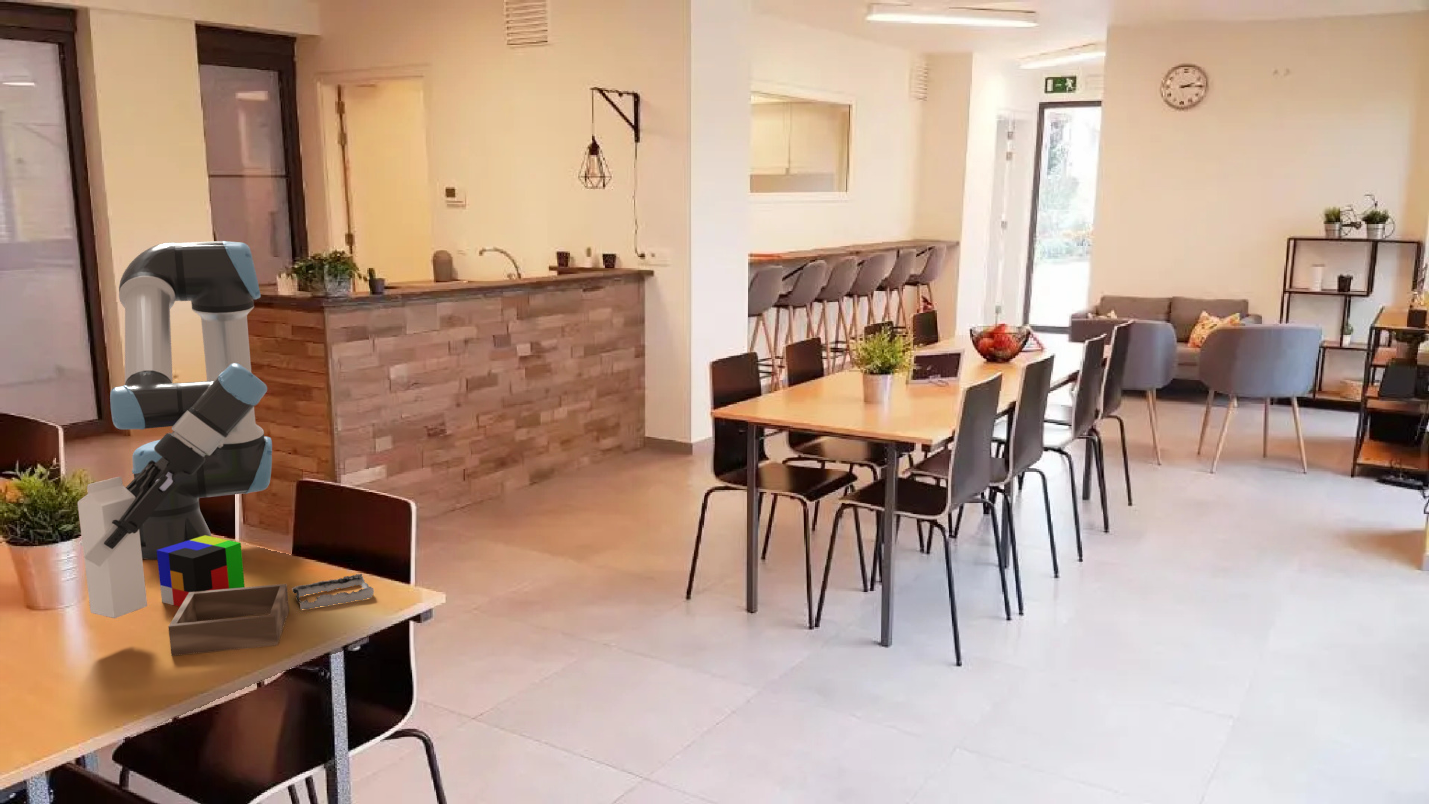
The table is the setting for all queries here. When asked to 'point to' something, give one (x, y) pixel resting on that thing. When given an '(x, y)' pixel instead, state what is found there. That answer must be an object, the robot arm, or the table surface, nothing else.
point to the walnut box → (231, 631)
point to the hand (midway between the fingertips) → (89, 554)
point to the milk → (122, 572)
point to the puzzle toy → (199, 567)
